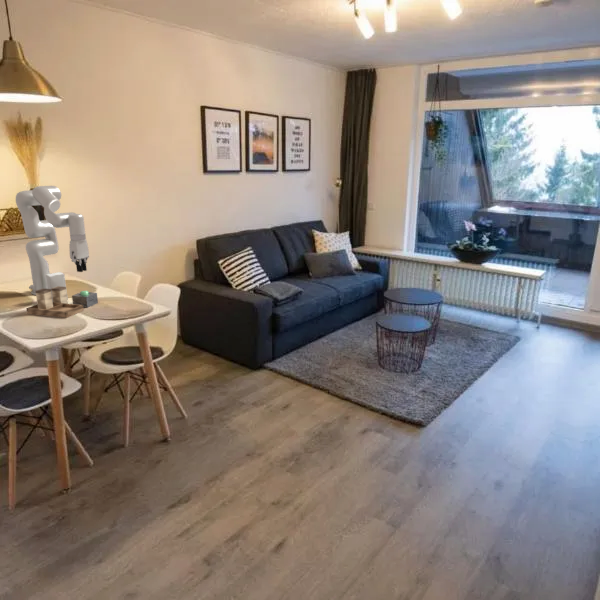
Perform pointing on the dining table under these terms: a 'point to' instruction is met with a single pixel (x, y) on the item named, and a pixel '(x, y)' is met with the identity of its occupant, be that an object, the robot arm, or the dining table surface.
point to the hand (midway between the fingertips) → (81, 270)
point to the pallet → (57, 310)
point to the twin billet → (44, 298)
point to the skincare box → (56, 280)
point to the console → (85, 299)
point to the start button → (84, 293)
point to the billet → (59, 294)
